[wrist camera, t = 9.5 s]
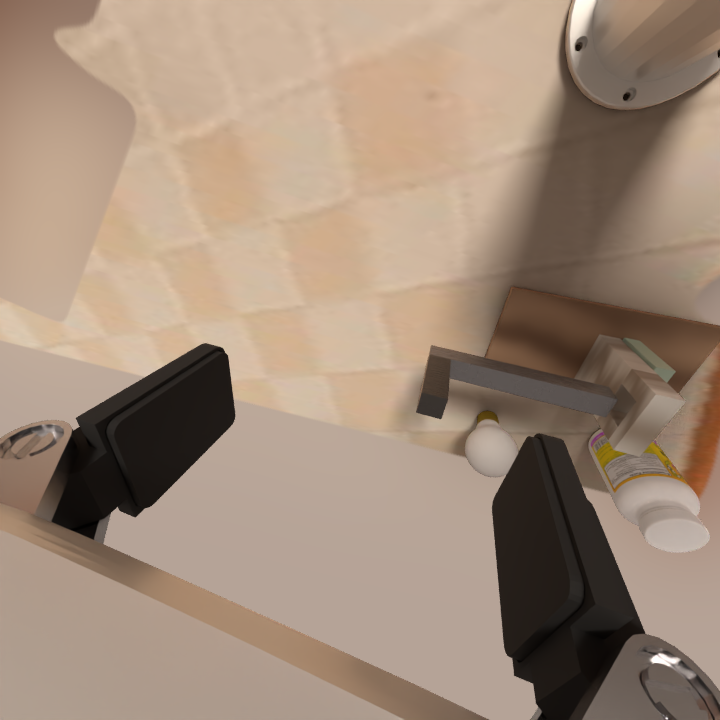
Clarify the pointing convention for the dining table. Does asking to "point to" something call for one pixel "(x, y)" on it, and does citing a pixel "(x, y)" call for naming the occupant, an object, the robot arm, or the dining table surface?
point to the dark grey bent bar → (506, 383)
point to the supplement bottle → (651, 495)
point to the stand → (605, 356)
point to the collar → (650, 359)
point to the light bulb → (490, 447)
